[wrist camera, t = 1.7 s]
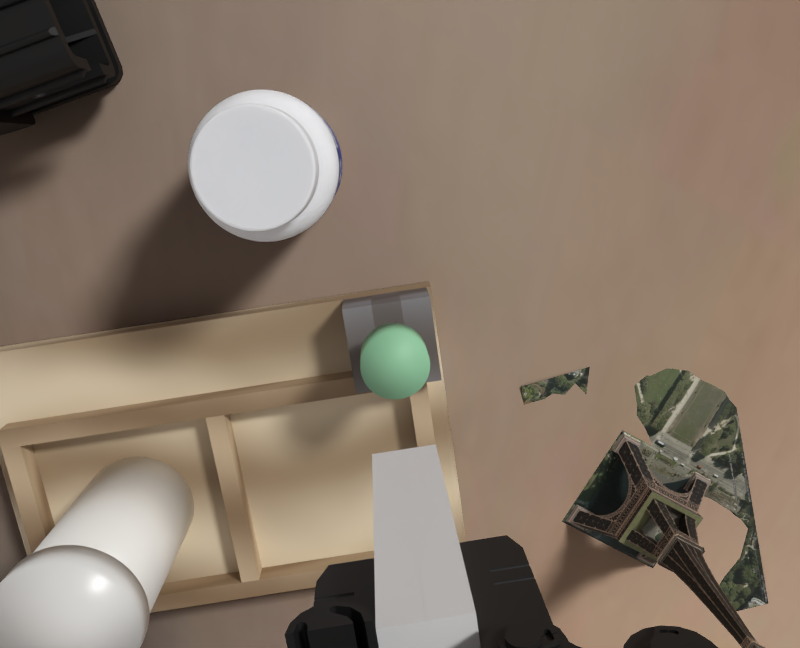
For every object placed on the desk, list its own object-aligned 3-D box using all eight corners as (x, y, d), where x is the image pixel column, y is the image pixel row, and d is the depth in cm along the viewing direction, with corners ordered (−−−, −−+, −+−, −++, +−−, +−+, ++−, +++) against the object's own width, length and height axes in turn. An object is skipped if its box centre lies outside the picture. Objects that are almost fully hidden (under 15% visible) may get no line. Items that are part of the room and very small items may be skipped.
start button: (356, 316, 31) (355, 337, 28) (418, 307, 31) (425, 327, 28) (365, 376, 32) (366, 404, 28) (427, 367, 32) (434, 393, 28)
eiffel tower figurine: (766, 599, 39) (969, 827, 26) (576, 650, 39) (681, 901, 26) (719, 326, 35) (926, 431, 22) (510, 383, 35) (594, 520, 22)
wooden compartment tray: (-18, 349, 33) (-57, 370, 30) (428, 281, 34) (434, 295, 30) (56, 605, 36) (27, 648, 33) (464, 542, 37) (473, 579, 33)
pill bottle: (291, 250, 33) (264, 287, 24) (194, 171, 32) (130, 180, 23) (369, 156, 32) (370, 160, 24) (272, 72, 31) (236, 44, 23)
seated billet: (69, 461, 34) (-39, 577, 25) (185, 444, 34) (120, 552, 25) (97, 565, 35) (4, 711, 26) (209, 548, 35) (154, 687, 26)
